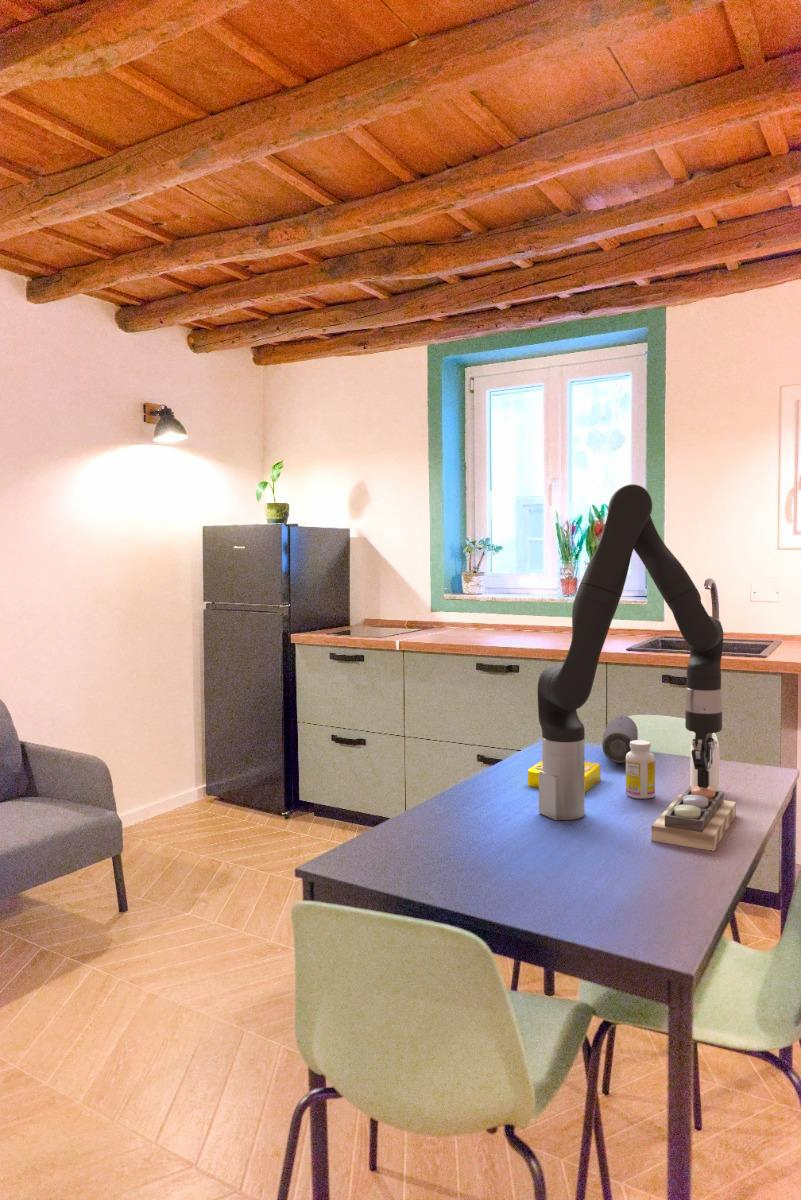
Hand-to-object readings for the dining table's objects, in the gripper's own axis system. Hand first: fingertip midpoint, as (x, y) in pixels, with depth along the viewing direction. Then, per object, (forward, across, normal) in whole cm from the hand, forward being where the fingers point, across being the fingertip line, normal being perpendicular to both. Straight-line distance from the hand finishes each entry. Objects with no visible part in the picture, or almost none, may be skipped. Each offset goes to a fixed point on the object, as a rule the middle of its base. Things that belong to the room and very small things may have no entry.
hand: (703, 786), depth 179 cm
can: (+7, +20, +4) cm, 21 cm away
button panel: (+7, -8, 0) cm, 10 cm away
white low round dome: (+2, -8, 0) cm, 8 cm away
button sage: (+2, -15, 0) cm, 16 cm away
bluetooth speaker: (+7, +41, +30) cm, 52 cm away
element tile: (+7, +11, +36) cm, 38 cm away
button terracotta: (+2, 0, 0) cm, 2 cm away
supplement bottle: (+7, +8, +16) cm, 19 cm away
